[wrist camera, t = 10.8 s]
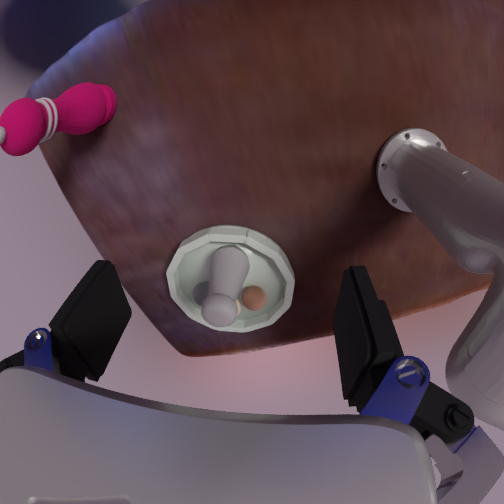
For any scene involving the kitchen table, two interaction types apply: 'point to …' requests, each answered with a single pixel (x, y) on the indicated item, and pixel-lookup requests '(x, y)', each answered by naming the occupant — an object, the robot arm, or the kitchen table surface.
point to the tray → (260, 274)
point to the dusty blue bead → (200, 293)
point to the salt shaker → (225, 285)
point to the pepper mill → (55, 116)
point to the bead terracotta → (254, 298)
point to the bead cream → (238, 305)
